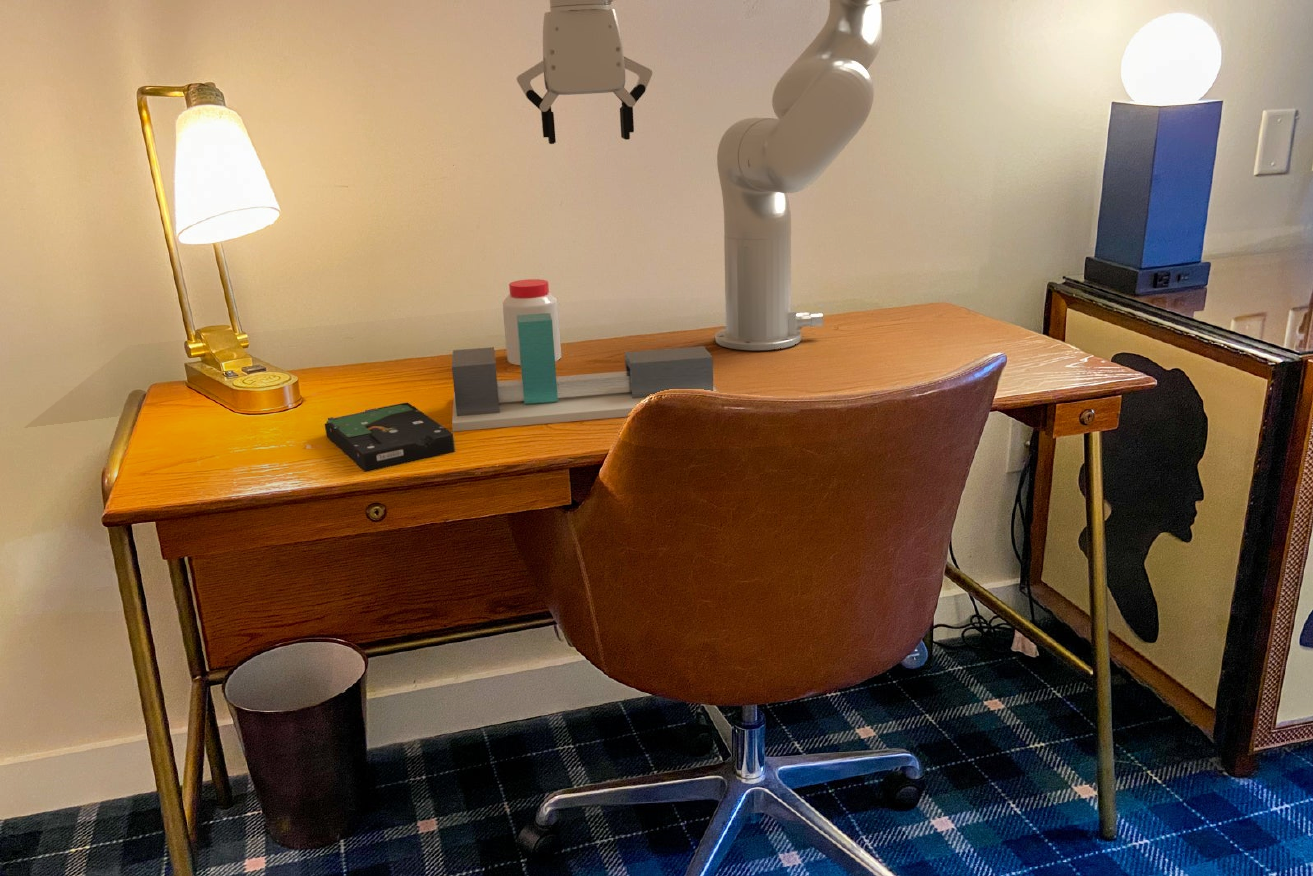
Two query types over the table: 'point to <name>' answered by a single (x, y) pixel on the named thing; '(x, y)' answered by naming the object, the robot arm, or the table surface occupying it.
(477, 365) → the socket
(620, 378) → the bolt
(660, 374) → the sleeve
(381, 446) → the disk drive
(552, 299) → the pill bottle
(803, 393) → the table surface
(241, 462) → the table surface
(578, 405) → the base board
